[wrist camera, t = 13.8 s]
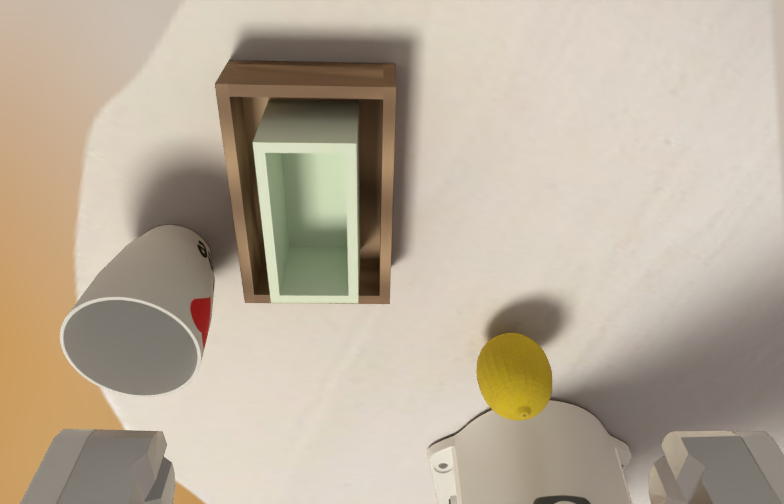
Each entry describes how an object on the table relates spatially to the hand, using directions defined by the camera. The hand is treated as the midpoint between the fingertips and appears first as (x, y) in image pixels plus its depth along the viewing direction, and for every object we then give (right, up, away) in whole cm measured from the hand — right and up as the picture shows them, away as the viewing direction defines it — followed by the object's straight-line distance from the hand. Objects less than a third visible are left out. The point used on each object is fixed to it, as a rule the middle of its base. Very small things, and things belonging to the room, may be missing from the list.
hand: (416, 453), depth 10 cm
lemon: (+9, -4, +41) cm, 42 cm away
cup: (-16, +3, +36) cm, 39 cm away
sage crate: (-5, +8, +31) cm, 33 cm away
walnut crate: (-5, +8, +32) cm, 33 cm away
